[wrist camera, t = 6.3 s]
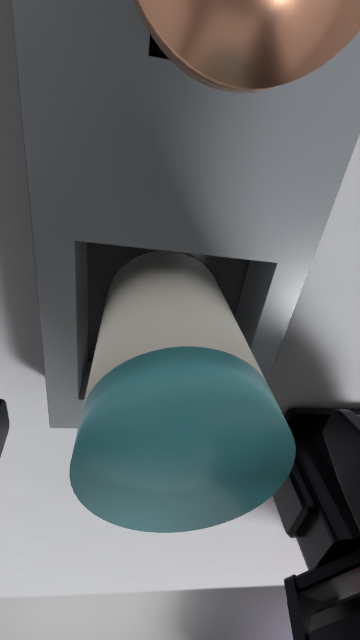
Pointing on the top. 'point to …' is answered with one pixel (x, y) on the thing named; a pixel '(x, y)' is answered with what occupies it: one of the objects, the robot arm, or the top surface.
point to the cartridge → (175, 406)
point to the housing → (168, 172)
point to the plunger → (249, 38)
